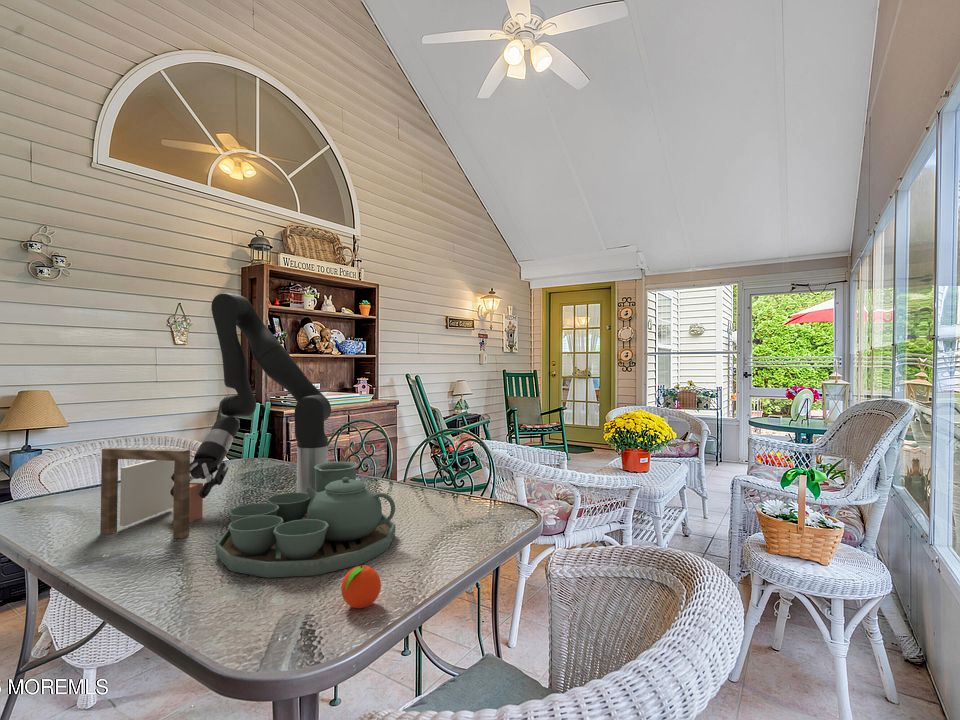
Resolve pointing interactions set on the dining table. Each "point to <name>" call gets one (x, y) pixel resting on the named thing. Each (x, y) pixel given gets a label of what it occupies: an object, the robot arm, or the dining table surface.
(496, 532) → the dining table surface
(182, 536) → the door frame
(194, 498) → the salmon orange block
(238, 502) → the dining table surface
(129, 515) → the door
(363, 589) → the clementine
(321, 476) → the tea set
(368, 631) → the dining table surface
